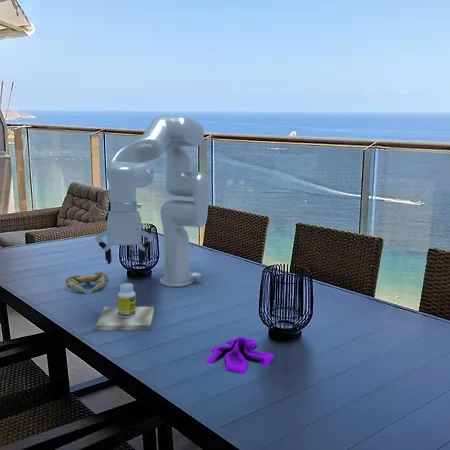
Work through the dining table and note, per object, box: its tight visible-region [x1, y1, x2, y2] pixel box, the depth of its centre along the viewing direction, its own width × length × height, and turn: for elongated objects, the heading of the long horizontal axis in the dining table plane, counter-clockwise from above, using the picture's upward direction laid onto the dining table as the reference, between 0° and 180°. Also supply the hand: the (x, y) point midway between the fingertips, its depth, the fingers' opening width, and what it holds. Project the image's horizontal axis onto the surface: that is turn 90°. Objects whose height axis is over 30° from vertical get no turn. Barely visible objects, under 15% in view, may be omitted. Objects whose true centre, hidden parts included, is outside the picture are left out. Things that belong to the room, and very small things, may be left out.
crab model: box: [65, 271, 110, 294], centre depth 197 cm, size 16×13×6 cm
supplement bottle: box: [117, 282, 137, 318], centre depth 165 cm, size 5×5×10 cm
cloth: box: [205, 336, 276, 375], centre depth 141 cm, size 22×19×6 cm
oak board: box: [94, 306, 155, 331], centre depth 166 cm, size 16×16×2 cm
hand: (125, 262), depth 163 cm, fingers open, 9 cm apart
